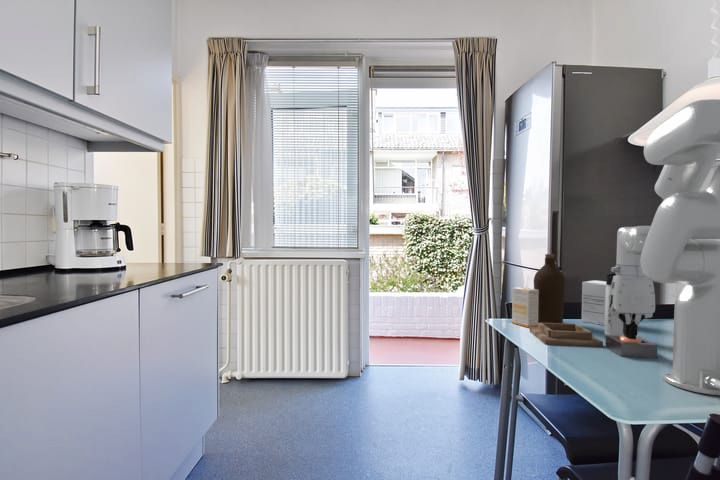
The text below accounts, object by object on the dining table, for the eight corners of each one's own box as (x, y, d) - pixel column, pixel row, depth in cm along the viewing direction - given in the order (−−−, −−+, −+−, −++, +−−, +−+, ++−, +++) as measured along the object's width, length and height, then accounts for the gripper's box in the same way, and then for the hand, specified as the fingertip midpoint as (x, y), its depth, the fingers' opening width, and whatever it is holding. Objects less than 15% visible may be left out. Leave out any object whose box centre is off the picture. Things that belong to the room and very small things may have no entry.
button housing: (657, 358, 112) (657, 344, 112) (620, 356, 113) (621, 343, 113) (638, 348, 121) (639, 336, 121) (605, 347, 122) (605, 335, 122)
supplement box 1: (538, 327, 147) (539, 289, 147) (528, 328, 145) (528, 290, 145) (521, 322, 155) (522, 286, 154) (511, 323, 153) (511, 287, 153)
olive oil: (545, 326, 148) (547, 255, 148) (526, 320, 159) (528, 253, 158) (571, 325, 151) (573, 255, 151) (550, 319, 161) (552, 253, 161)
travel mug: (623, 336, 136) (625, 273, 135) (630, 341, 129) (632, 275, 129) (601, 334, 137) (603, 273, 137) (607, 339, 131) (609, 274, 131)
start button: (645, 350, 114) (645, 340, 114) (625, 349, 115) (625, 339, 115) (635, 345, 119) (635, 336, 119) (616, 344, 120) (616, 335, 120)
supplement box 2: (592, 318, 163) (593, 279, 163) (617, 323, 156) (618, 282, 155) (580, 321, 158) (581, 281, 157) (605, 326, 150) (606, 283, 150)
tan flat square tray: (602, 346, 122) (603, 334, 122) (545, 344, 124) (545, 332, 124) (580, 333, 138) (580, 322, 138) (529, 331, 140) (529, 321, 140)
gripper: (609, 272, 114) (607, 340, 114) (669, 273, 112) (667, 342, 113) (597, 269, 121) (595, 333, 122) (653, 271, 119) (651, 335, 120)
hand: (629, 337), depth 117 cm, fingers closed
